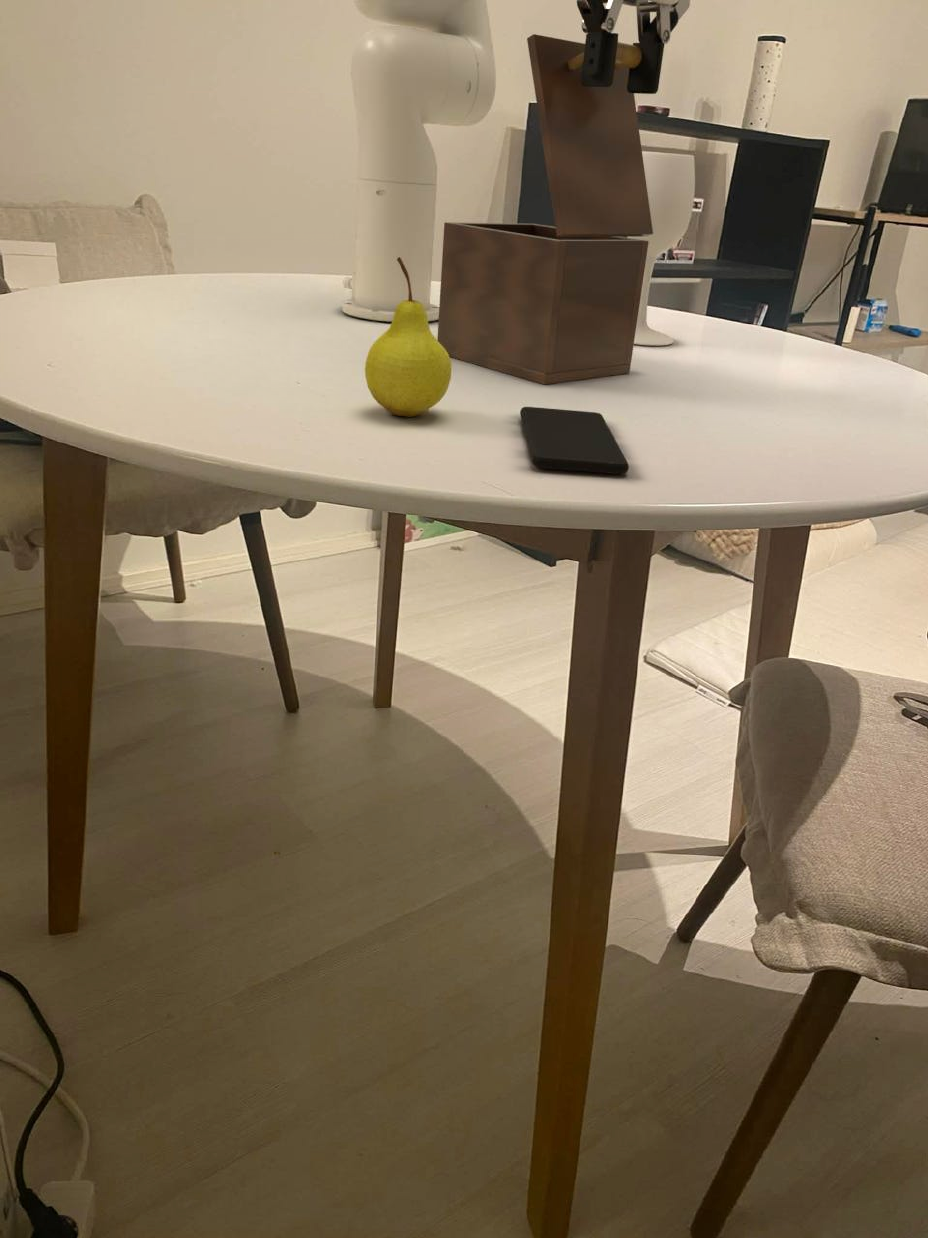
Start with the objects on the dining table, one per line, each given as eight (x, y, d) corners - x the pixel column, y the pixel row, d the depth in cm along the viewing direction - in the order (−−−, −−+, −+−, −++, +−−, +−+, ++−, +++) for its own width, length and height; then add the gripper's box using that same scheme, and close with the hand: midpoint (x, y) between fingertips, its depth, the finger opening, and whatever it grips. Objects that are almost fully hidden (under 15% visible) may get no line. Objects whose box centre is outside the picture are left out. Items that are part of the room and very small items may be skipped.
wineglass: (678, 348, 118) (710, 156, 109) (607, 343, 118) (632, 150, 109) (666, 335, 126) (695, 155, 117) (599, 330, 126) (622, 149, 116)
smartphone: (602, 412, 82) (631, 465, 68) (600, 422, 82) (629, 476, 69) (520, 405, 82) (532, 457, 68) (519, 415, 82) (531, 468, 68)
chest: (436, 352, 105) (444, 222, 99) (521, 344, 113) (533, 223, 107) (544, 384, 94) (559, 240, 89) (629, 373, 102) (649, 240, 97)
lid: (526, 37, 86) (568, 11, 82) (621, 55, 94) (664, 31, 90) (556, 236, 89) (599, 219, 85) (646, 236, 97) (688, 221, 93)
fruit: (464, 421, 80) (476, 265, 74) (394, 429, 76) (401, 266, 71) (416, 401, 85) (424, 253, 79) (348, 408, 81) (351, 253, 75)
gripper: (677, -132, 88) (646, 97, 95) (545, -183, 77) (522, 79, 85) (749, -143, 83) (710, 99, 91) (618, -199, 72) (587, 80, 80)
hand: (619, 87), depth 88 cm, fingers closed on lid, 5 cm apart
